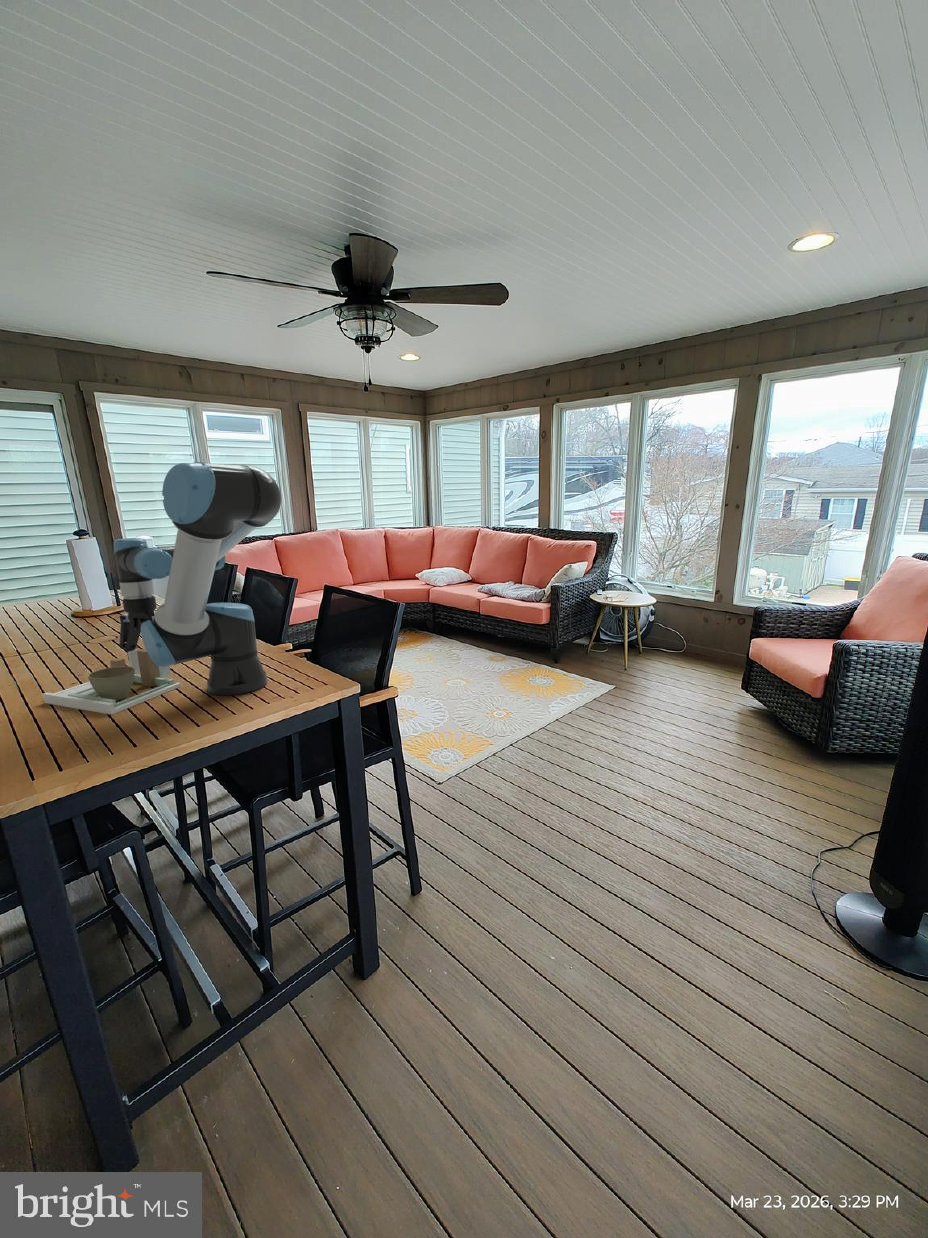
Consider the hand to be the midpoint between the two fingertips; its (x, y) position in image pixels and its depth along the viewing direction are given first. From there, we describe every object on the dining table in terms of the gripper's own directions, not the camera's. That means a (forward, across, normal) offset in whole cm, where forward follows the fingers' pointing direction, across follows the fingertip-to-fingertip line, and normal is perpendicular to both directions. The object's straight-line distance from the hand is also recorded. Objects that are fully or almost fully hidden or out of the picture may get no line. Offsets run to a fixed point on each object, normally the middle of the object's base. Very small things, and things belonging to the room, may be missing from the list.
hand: (151, 674), depth 141 cm
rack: (+3, +4, +8) cm, 10 cm away
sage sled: (+3, 0, +8) cm, 9 cm away
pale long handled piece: (+3, +12, +8) cm, 15 cm away
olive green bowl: (+3, 0, +11) cm, 11 cm away
